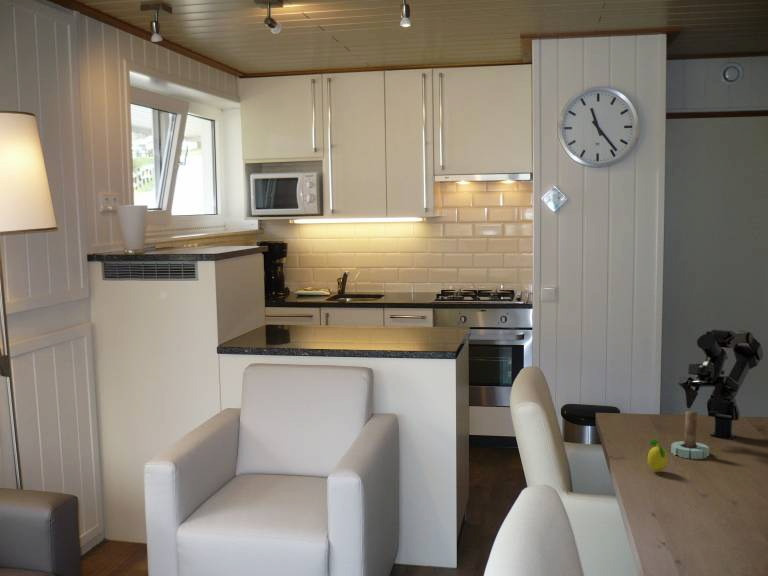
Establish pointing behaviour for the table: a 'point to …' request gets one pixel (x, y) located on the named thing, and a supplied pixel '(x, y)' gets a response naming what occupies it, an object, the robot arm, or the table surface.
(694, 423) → the dowel
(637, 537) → the table surface
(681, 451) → the ring
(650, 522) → the table surface
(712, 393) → the robot arm
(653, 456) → the lemon
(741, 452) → the table surface
